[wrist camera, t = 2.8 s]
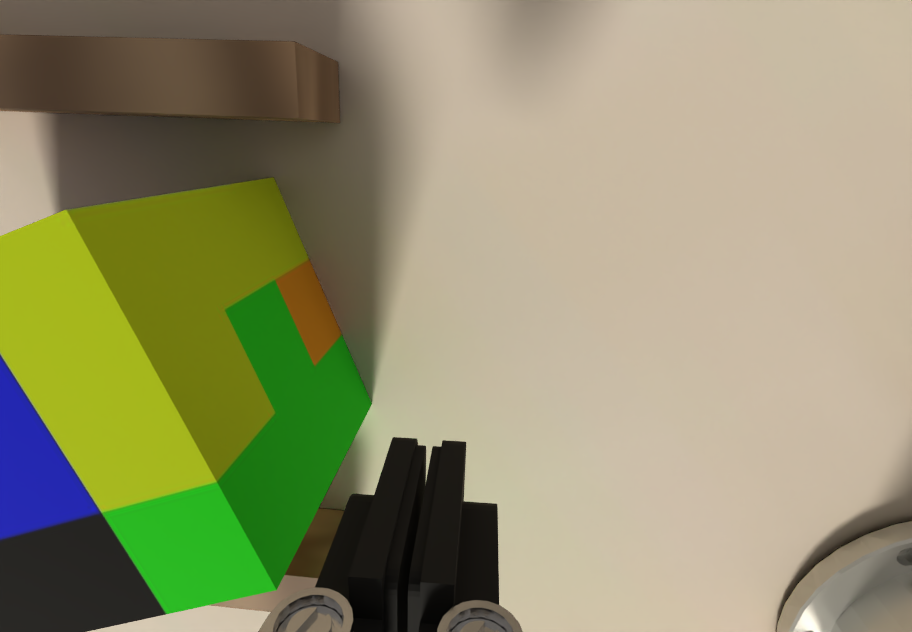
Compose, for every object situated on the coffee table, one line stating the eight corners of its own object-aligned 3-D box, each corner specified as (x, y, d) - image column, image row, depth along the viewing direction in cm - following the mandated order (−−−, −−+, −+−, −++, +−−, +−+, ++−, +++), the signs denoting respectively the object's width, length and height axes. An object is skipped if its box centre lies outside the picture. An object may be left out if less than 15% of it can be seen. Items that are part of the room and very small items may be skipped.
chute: (338, 61, 18) (294, 41, 15) (354, 545, 25) (327, 618, 21) (-57, 51, 19) (-193, 29, 16) (59, 517, 26) (-16, 581, 22)
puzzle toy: (63, 257, 22) (-275, 346, 12) (274, 177, 20) (65, 209, 11) (177, 457, 25) (-29, 656, 15) (372, 402, 23) (276, 590, 13)
